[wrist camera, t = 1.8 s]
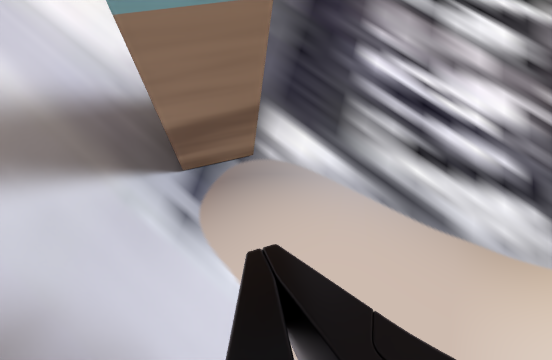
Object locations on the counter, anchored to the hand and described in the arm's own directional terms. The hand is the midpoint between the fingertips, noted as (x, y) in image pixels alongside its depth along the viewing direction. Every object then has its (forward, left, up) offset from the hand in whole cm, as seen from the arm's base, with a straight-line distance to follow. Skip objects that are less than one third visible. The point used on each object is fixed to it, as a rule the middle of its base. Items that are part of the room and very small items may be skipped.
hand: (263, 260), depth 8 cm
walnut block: (+9, -6, -12) cm, 16 cm away
